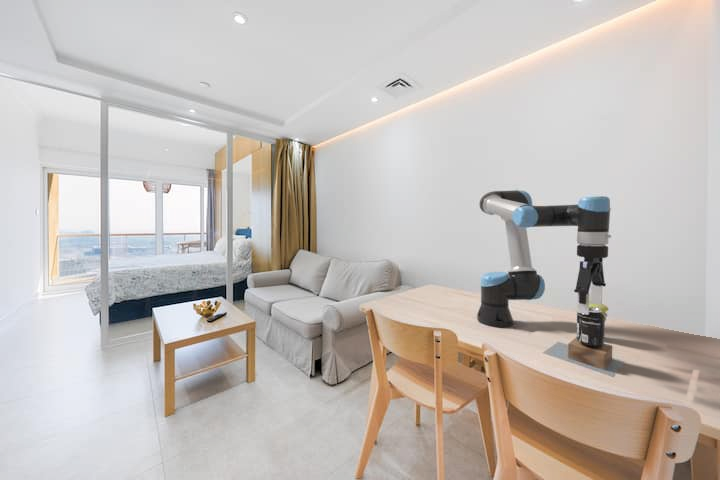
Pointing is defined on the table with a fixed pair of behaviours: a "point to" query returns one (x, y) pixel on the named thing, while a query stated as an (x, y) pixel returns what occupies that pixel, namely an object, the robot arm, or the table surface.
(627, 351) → the table surface
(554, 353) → the plate
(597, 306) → the toy
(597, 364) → the walnut block
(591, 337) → the beverage can
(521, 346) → the table surface
